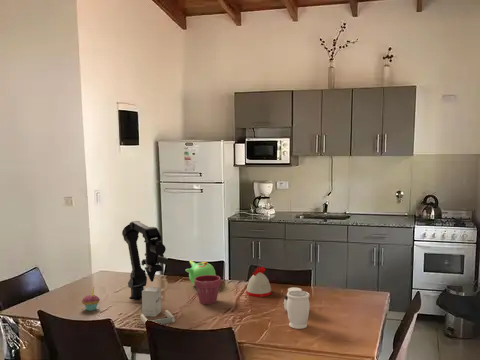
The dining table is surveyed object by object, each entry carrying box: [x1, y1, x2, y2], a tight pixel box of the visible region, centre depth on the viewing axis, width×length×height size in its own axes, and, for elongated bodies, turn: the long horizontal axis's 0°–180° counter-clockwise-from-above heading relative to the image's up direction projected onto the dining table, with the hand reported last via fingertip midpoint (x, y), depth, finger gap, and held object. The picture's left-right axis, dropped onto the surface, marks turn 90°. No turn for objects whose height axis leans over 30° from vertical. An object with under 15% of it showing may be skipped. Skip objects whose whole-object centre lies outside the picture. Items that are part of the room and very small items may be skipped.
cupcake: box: [81, 286, 101, 312], centre depth 238 cm, size 9×8×12 cm
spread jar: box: [283, 287, 303, 312], centre depth 233 cm, size 12×11×12 cm
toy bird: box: [185, 260, 217, 285], centre depth 278 cm, size 18×17×15 cm
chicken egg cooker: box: [246, 266, 272, 298], centre depth 263 cm, size 14×14×15 cm
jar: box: [286, 290, 311, 330], centre depth 213 cm, size 11×10×15 cm
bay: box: [140, 309, 176, 325], centre depth 222 cm, size 11×13×2 cm
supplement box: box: [141, 286, 162, 318], centre depth 230 cm, size 7×7×13 cm
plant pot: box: [193, 275, 222, 305], centre depth 249 cm, size 14×14×13 cm
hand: (152, 281), depth 242 cm, fingers closed
